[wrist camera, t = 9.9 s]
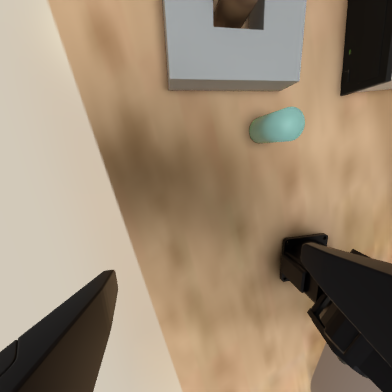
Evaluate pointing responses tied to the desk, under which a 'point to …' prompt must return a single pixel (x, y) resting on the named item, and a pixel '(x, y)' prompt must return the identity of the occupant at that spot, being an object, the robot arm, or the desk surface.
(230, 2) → the walnut pin
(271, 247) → the desk surface
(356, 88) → the disc drive
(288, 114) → the teal pin
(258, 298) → the desk surface
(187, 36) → the block
